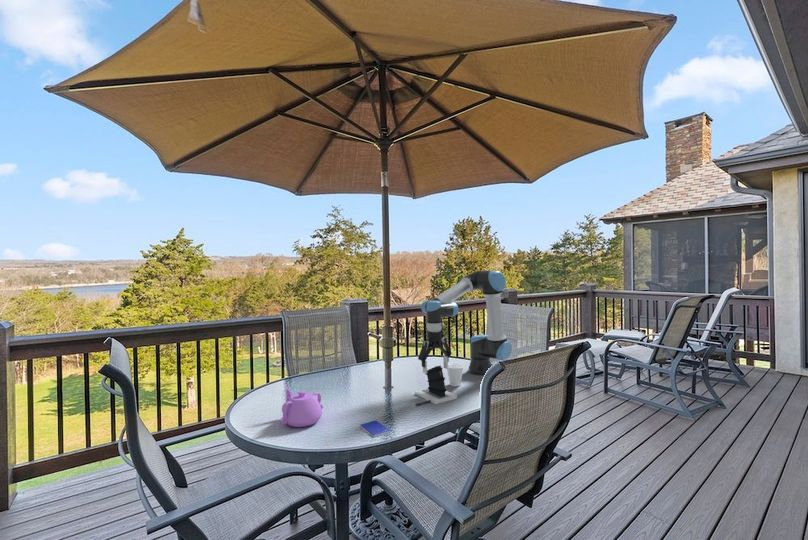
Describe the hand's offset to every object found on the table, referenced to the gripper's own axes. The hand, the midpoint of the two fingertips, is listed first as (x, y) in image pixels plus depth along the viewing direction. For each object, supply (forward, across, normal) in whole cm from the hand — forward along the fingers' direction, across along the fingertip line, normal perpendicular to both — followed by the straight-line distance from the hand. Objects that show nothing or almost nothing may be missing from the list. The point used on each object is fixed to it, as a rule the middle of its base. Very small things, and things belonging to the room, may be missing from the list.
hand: (435, 370), depth 207 cm
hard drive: (+14, +46, +17) cm, 51 cm away
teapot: (+13, +70, -11) cm, 72 cm away
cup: (+14, -19, -8) cm, 25 cm away
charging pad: (+13, +5, 0) cm, 14 cm away
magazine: (+12, 0, 0) cm, 12 cm away
